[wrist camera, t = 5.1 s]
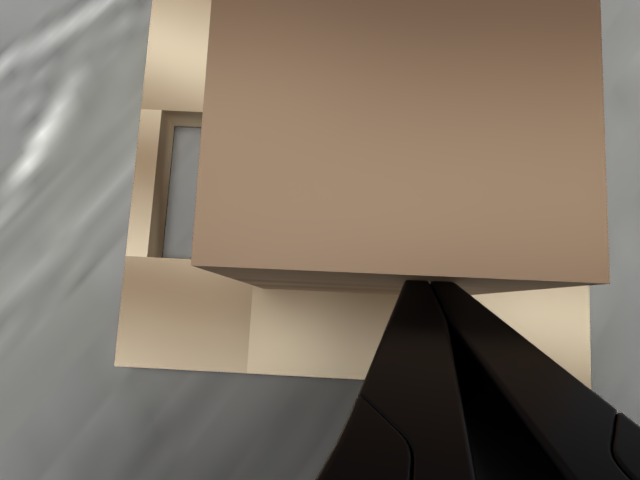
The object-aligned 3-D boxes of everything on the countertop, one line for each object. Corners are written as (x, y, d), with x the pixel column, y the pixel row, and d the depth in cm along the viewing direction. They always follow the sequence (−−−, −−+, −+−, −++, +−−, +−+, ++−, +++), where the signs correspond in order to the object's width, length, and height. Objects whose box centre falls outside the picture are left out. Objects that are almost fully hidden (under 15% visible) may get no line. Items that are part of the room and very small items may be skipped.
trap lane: (567, 384, 17) (682, 420, 12) (131, 360, 17) (45, 385, 12) (561, -90, 20) (654, -244, 14) (178, -107, 20) (124, -266, 14)
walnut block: (449, 296, 16) (609, 283, 7) (263, 288, 16) (191, 265, 7) (451, 61, 17) (593, -205, 8) (276, 54, 17) (228, -218, 8)
